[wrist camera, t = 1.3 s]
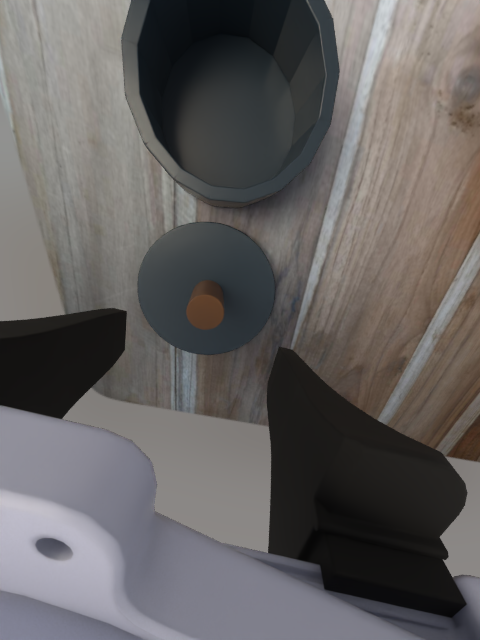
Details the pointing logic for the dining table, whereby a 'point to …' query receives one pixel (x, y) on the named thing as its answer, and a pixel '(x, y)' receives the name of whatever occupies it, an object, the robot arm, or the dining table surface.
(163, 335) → the lid
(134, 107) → the pot
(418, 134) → the dining table surface
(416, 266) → the dining table surface
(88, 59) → the dining table surface
